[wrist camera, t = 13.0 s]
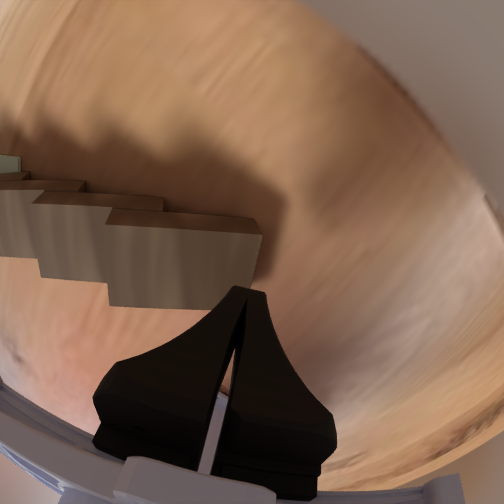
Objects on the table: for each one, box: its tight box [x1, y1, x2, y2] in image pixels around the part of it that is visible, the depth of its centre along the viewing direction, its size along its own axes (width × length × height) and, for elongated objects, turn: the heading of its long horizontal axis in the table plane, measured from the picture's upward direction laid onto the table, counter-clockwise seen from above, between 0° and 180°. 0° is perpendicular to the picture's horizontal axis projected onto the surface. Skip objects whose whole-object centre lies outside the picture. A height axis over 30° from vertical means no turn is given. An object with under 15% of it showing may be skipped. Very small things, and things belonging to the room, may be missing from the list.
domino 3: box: [105, 209, 263, 310], centre depth 14 cm, size 2×4×7 cm
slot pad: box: [0, 155, 21, 173], centre depth 16 cm, size 4×6×1 cm, turn 169°
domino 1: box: [0, 180, 86, 259], centre depth 15 cm, size 2×4×7 cm
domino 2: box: [31, 191, 164, 283], centre depth 15 cm, size 2×4×7 cm
